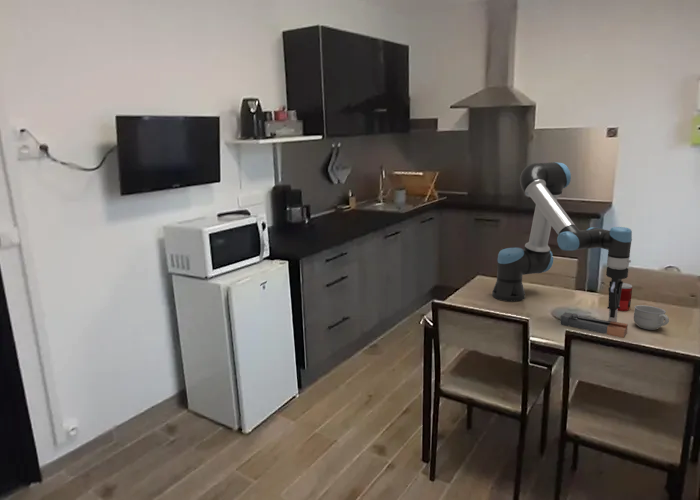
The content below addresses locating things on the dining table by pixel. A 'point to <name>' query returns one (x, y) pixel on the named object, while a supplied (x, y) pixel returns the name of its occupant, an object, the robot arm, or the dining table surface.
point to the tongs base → (592, 326)
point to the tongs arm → (600, 321)
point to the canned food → (625, 297)
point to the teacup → (650, 317)
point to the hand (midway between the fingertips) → (612, 324)
